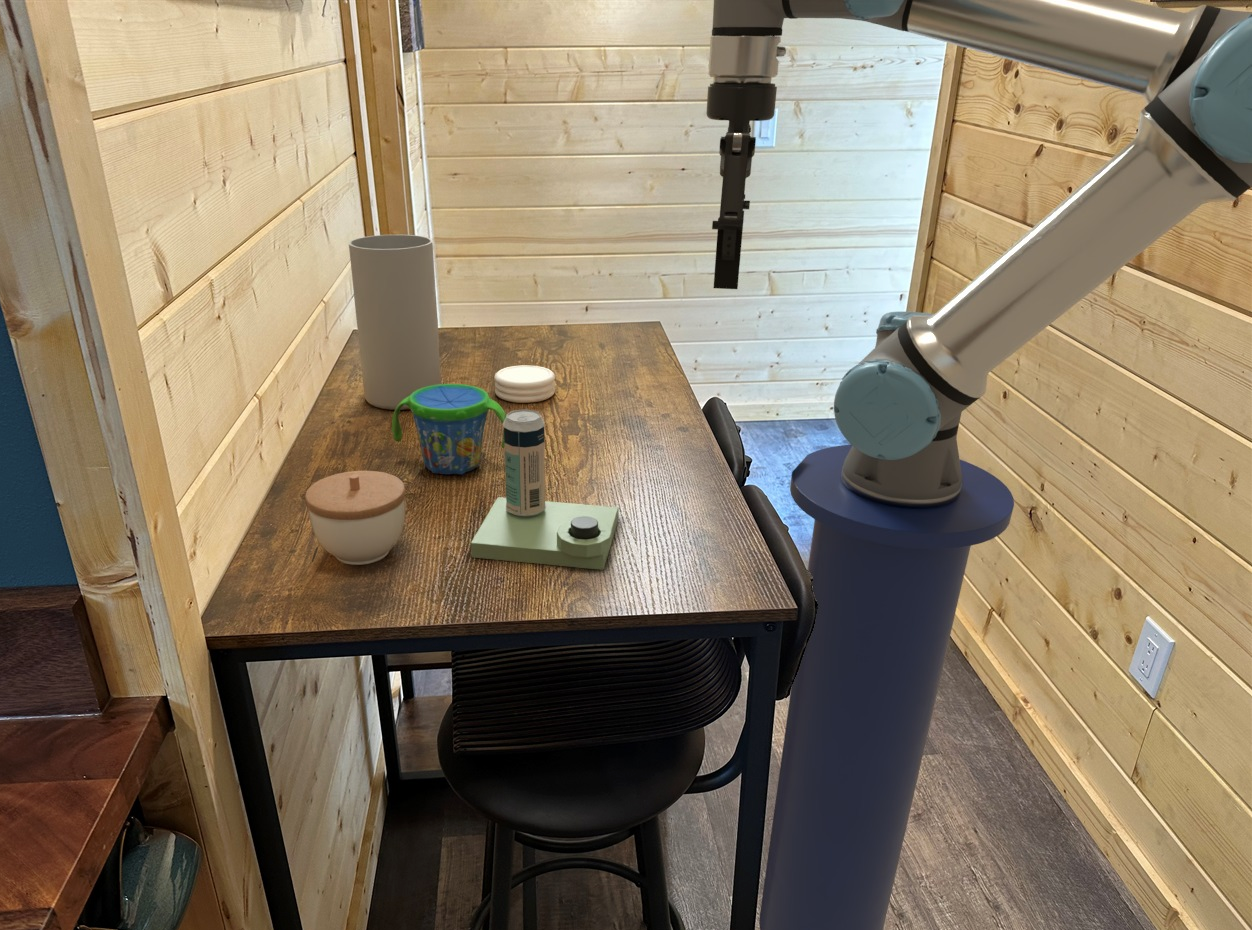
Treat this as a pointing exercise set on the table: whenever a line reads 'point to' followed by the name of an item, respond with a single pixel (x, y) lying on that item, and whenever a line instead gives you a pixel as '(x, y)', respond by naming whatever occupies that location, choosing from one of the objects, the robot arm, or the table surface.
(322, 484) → the trinket box
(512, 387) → the coaster
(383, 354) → the cylinder vase
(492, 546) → the scale
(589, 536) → the button
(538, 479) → the beer can
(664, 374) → the table surface
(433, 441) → the snack cup
